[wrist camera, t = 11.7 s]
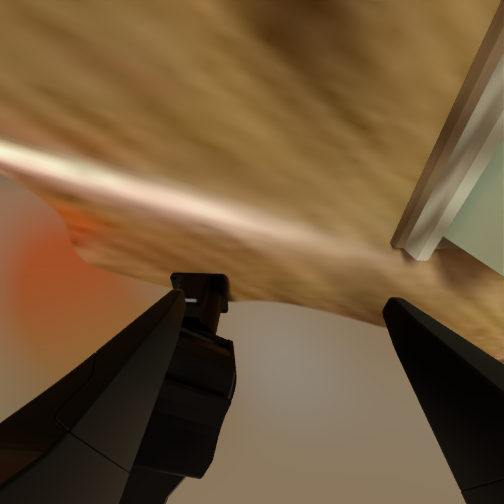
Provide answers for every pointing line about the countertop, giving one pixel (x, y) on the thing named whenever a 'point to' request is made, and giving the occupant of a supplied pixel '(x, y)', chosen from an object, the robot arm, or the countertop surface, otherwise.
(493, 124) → the bottom track
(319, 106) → the countertop surface
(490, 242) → the pale green rectangular block
